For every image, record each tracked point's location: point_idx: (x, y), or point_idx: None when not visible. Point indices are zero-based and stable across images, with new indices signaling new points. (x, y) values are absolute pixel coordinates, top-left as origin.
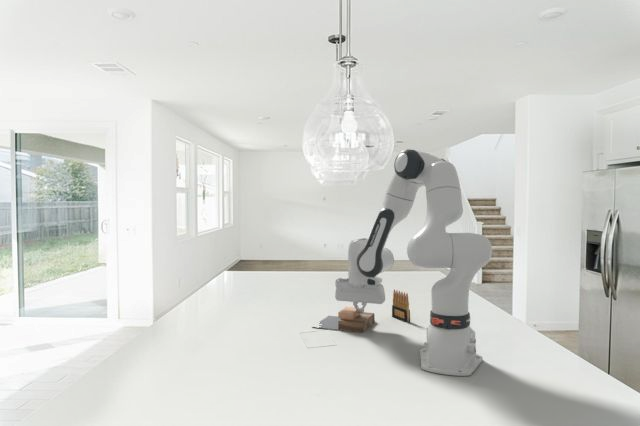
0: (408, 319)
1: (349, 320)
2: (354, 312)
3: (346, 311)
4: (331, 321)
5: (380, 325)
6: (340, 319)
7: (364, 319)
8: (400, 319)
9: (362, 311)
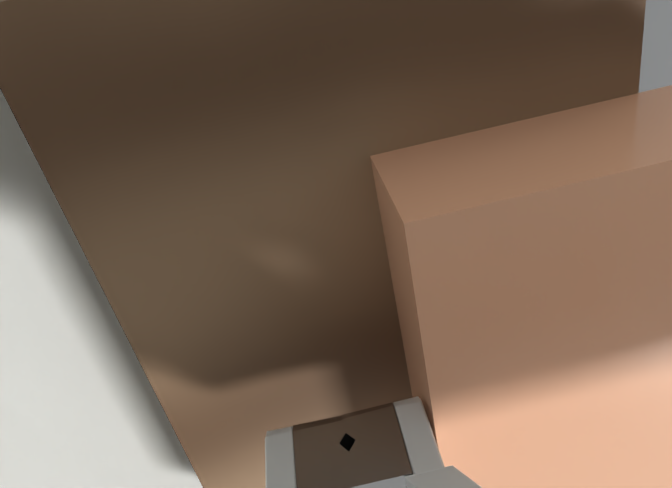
0: None
1: (402, 53)
2: (419, 342)
3: (628, 285)
4: None
5: (95, 427)
6: (637, 11)
7: (164, 297)
8: None
9: (269, 461)
